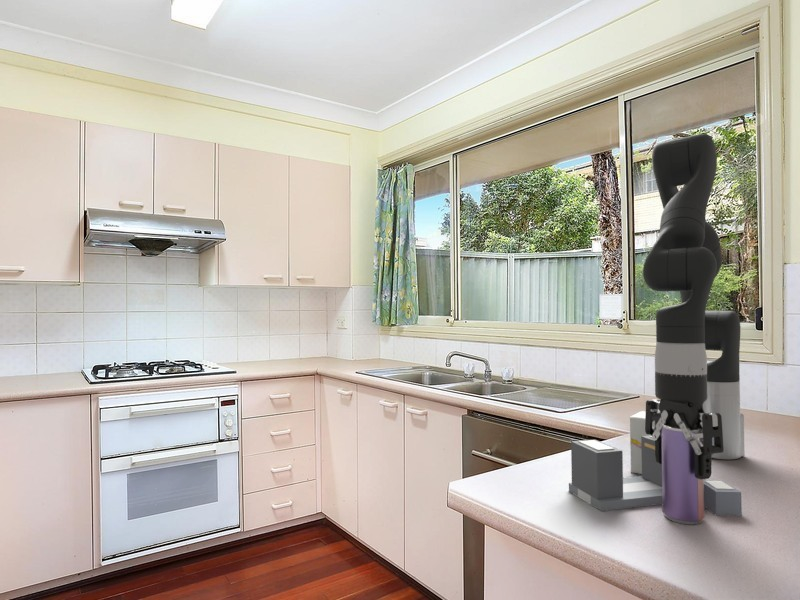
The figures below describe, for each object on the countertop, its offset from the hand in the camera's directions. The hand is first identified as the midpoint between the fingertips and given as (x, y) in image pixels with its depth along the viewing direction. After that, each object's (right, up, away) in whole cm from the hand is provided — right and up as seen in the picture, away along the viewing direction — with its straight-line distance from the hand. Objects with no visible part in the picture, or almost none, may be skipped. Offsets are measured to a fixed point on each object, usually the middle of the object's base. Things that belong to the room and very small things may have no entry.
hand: (681, 470), depth 86 cm
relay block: (+9, -8, +4) cm, 12 cm away
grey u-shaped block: (-3, -8, +10) cm, 14 cm away
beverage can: (0, -8, 0) cm, 8 cm away
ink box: (+8, -8, +24) cm, 27 cm away
